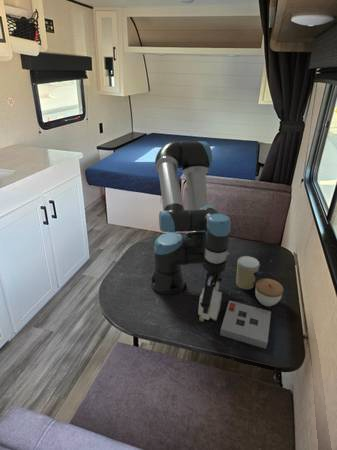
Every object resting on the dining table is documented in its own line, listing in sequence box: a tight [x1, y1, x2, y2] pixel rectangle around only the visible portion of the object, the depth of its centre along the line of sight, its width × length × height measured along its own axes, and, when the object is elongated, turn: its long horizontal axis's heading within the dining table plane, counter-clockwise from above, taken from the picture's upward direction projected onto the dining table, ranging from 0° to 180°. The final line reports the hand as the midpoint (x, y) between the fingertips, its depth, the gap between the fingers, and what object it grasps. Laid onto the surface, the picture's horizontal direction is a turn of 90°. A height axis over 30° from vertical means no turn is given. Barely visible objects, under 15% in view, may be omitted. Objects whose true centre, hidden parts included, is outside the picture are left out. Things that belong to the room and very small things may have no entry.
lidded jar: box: [254, 277, 285, 307], centre depth 121 cm, size 11×11×9 cm
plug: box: [197, 288, 223, 322], centre depth 112 cm, size 7×6×11 cm
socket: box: [219, 300, 272, 350], centre depth 110 cm, size 16×16×4 cm
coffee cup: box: [235, 255, 261, 290], centre depth 130 cm, size 9×9×12 cm
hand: (209, 306), depth 111 cm, fingers open, 13 cm apart
